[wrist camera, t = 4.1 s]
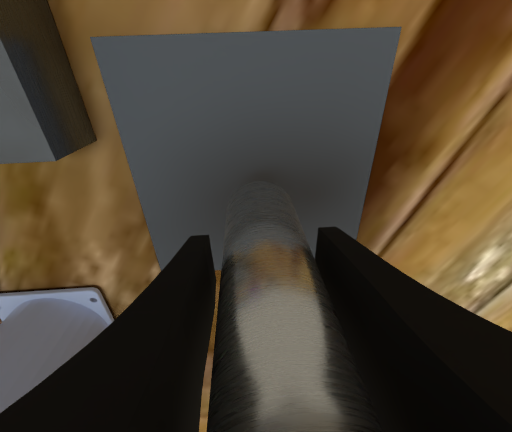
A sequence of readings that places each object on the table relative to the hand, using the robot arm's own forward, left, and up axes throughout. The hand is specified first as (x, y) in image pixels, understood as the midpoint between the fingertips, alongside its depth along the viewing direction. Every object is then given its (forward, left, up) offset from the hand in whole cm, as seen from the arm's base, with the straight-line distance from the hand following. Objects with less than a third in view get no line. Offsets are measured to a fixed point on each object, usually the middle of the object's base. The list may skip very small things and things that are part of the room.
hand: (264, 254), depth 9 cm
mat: (0, 0, -7) cm, 7 cm away
